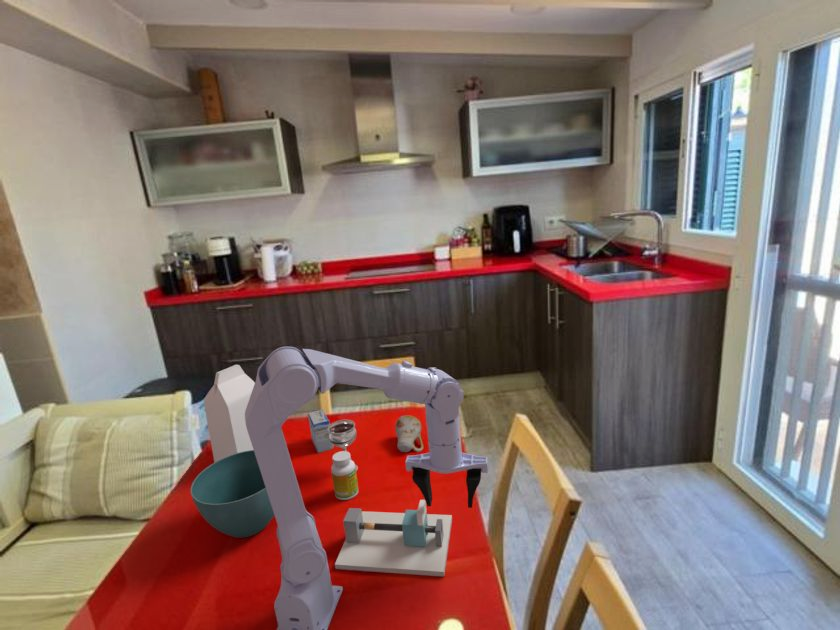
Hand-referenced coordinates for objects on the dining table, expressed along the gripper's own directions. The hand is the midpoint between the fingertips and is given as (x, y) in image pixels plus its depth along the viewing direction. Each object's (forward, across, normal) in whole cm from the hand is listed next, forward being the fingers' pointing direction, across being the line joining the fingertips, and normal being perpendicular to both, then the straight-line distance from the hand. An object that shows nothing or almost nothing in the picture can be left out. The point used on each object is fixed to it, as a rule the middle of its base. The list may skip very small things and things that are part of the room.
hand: (449, 503), depth 81 cm
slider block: (+8, +7, 0) cm, 11 cm away
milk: (+10, +59, -27) cm, 66 cm away
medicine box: (+10, +40, -34) cm, 53 cm away
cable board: (+9, +11, 0) cm, 14 cm away
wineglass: (+10, +29, -23) cm, 38 cm away
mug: (+10, +15, -35) cm, 39 cm away
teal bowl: (+10, +44, -3) cm, 45 cm away
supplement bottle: (+10, +26, -14) cm, 31 cm away
